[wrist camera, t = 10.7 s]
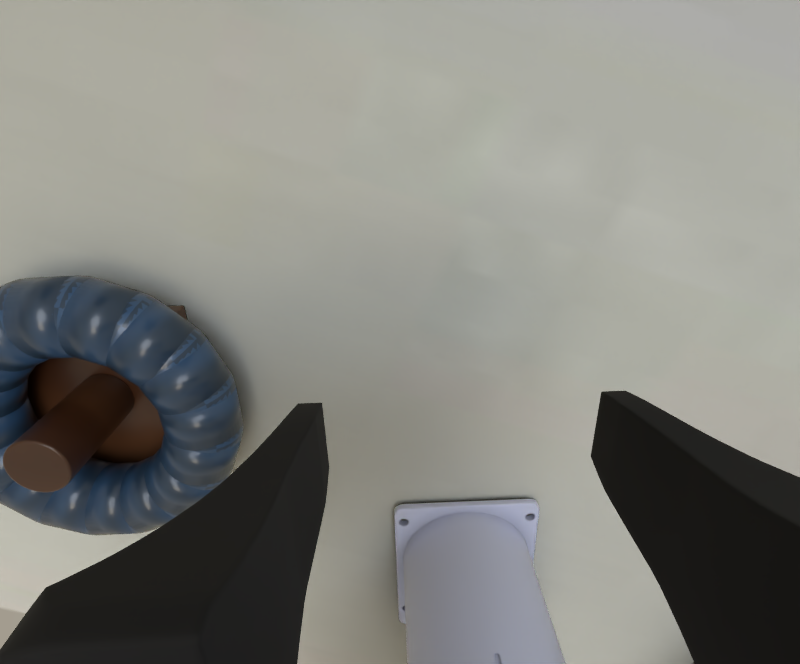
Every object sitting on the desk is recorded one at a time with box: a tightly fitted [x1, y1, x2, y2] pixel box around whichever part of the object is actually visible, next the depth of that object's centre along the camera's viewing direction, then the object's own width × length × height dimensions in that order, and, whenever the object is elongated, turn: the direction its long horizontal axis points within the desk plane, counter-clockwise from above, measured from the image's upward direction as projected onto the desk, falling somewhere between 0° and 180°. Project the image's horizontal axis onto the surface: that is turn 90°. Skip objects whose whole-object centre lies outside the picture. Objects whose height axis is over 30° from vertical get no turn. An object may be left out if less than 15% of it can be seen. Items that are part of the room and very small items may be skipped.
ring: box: [0, 276, 243, 535], centre depth 21 cm, size 12×12×3 cm
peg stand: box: [3, 305, 187, 492], centre depth 20 cm, size 8×8×6 cm
